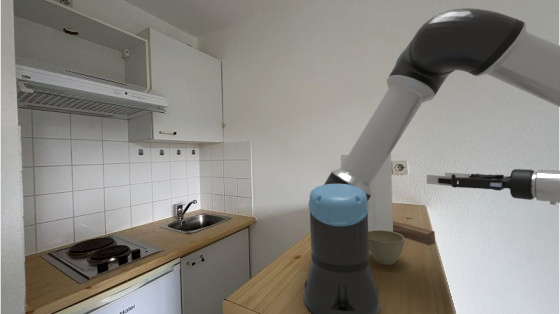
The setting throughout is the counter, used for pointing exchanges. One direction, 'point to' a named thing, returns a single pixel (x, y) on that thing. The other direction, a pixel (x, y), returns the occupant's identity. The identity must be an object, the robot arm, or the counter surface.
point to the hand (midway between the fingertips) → (436, 177)
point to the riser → (380, 198)
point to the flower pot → (385, 246)
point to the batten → (414, 233)
